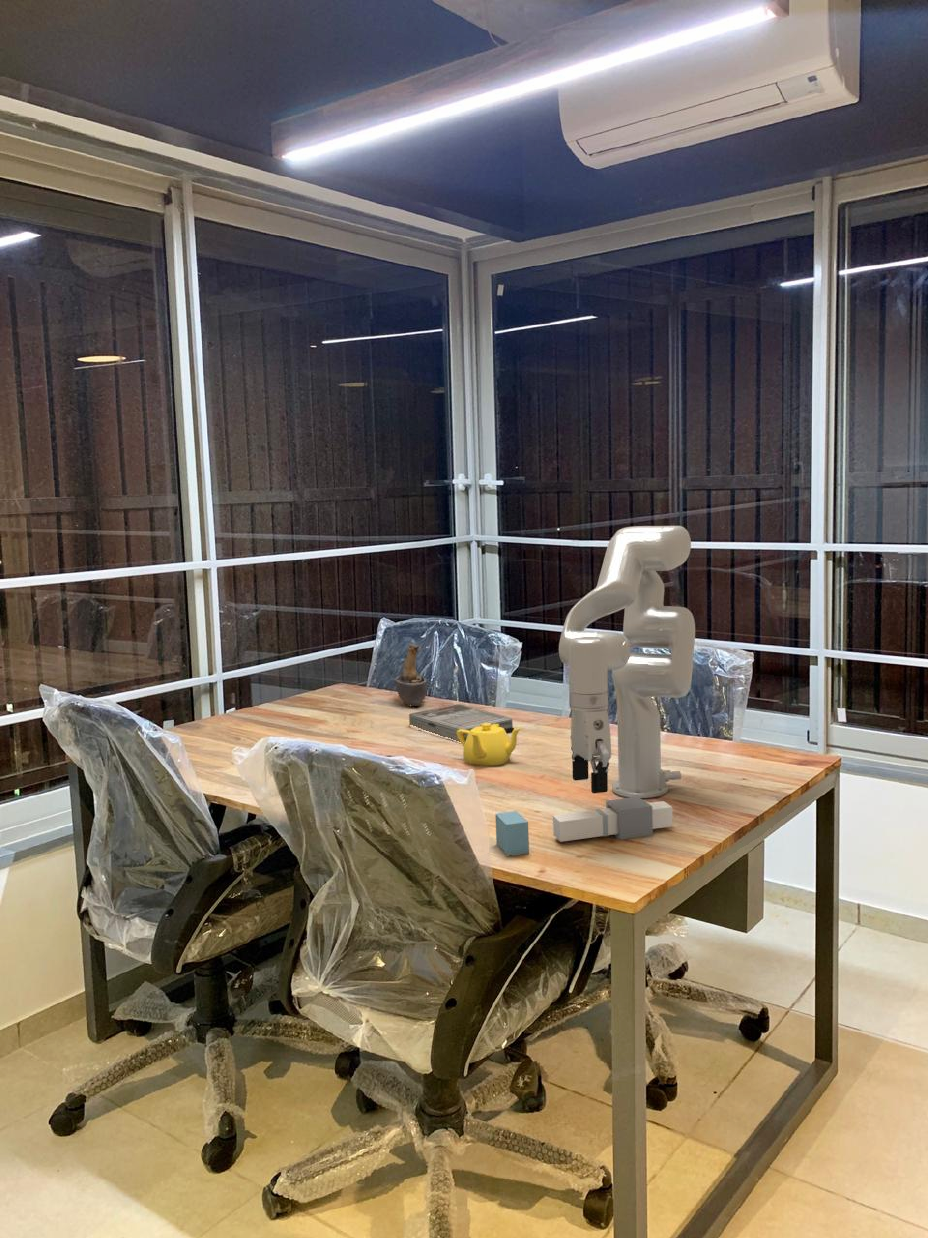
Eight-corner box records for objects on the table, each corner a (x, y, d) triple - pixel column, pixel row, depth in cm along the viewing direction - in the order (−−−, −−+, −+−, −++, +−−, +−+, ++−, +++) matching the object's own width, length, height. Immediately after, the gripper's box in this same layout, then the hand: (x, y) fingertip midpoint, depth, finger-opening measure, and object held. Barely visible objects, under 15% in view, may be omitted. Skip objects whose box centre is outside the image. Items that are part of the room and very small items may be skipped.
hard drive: (462, 745, 275) (461, 729, 274) (408, 728, 296) (407, 714, 296) (514, 733, 286) (513, 718, 285) (458, 718, 307) (457, 704, 307)
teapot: (473, 772, 248) (472, 733, 247) (454, 759, 260) (452, 721, 259) (524, 764, 253) (522, 726, 252) (502, 751, 265) (501, 715, 264)
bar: (663, 820, 205) (663, 800, 205) (672, 826, 201) (672, 806, 201) (553, 835, 199) (552, 815, 199) (560, 842, 195) (560, 821, 195)
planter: (419, 711, 316) (416, 649, 313) (377, 707, 325) (374, 646, 322) (446, 702, 328) (443, 641, 326) (405, 697, 337) (402, 639, 335)
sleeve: (638, 824, 205) (637, 796, 205) (652, 835, 199) (652, 806, 198) (606, 829, 204) (606, 800, 203) (620, 839, 197) (619, 810, 197)
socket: (517, 841, 199) (516, 811, 198) (529, 853, 192) (528, 822, 191) (496, 844, 198) (495, 813, 197) (507, 856, 191) (506, 825, 190)
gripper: (624, 706, 188) (625, 795, 190) (589, 691, 205) (590, 773, 206) (587, 710, 186) (588, 799, 188) (555, 694, 203) (556, 776, 205)
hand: (589, 785), depth 197 cm, fingers open, 9 cm apart
